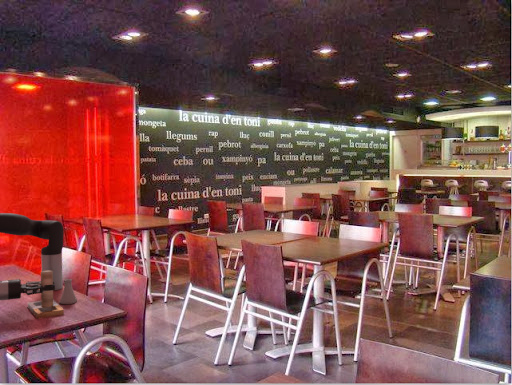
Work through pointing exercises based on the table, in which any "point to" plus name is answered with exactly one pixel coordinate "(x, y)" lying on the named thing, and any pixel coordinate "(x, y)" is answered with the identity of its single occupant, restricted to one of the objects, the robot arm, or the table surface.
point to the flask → (68, 293)
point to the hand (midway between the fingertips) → (54, 285)
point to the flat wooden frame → (45, 309)
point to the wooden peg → (47, 295)
